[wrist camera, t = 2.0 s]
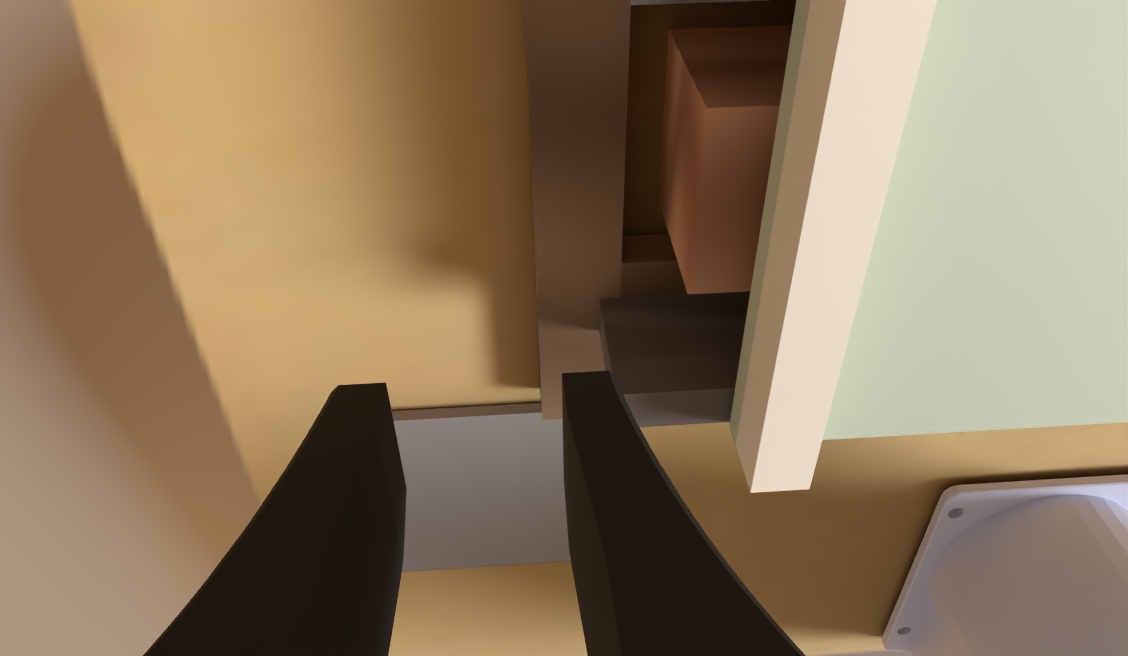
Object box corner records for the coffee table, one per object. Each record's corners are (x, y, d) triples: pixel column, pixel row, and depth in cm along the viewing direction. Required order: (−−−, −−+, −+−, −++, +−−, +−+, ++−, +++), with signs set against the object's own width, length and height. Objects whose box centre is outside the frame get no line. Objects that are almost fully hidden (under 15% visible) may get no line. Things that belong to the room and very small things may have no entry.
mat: (591, 549, 28) (591, 559, 28) (383, 563, 28) (382, 573, 28) (592, 399, 24) (594, 409, 24) (346, 413, 24) (344, 423, 23)
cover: (1128, 401, 19) (1183, 465, 17) (729, 425, 18) (750, 492, 17) (1405, -89, 12) (1530, -55, 11) (807, -70, 12) (852, -33, 10)
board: (1285, 348, 24) (1422, 465, 21) (540, 389, 23) (549, 520, 20) (1772, -354, 14) (2193, -361, 11) (511, -335, 13) (517, -335, 10)
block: (820, 188, 20) (880, 284, 17) (657, 195, 20) (687, 294, 17) (854, 21, 18) (932, 99, 15) (668, 28, 17) (706, 108, 14)
